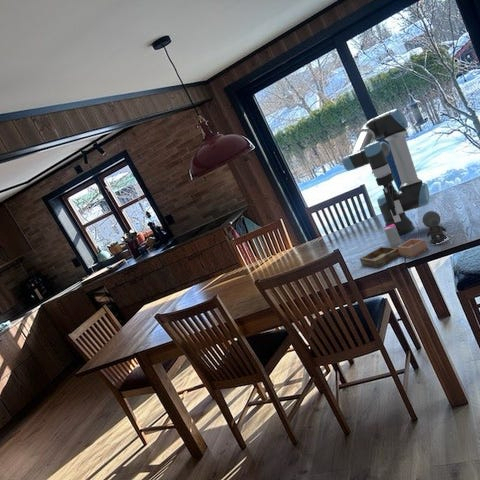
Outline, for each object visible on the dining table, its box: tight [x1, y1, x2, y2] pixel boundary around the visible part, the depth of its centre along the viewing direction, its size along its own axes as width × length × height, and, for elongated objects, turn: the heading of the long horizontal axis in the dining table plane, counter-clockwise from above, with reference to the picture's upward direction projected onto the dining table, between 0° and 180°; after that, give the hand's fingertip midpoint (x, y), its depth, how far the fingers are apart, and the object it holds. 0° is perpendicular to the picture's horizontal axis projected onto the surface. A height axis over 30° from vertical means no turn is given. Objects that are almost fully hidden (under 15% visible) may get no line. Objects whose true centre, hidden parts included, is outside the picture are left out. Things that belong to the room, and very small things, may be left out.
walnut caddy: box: [359, 245, 400, 268], centre depth 218 cm, size 14×14×4 cm
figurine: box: [422, 210, 447, 244], centre depth 207 cm, size 9×10×15 cm
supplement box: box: [383, 224, 403, 248], centre depth 225 cm, size 6×6×12 cm
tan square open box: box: [397, 238, 428, 259], centre depth 208 cm, size 9×9×5 cm
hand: (399, 217), depth 205 cm, fingers open, 13 cm apart
